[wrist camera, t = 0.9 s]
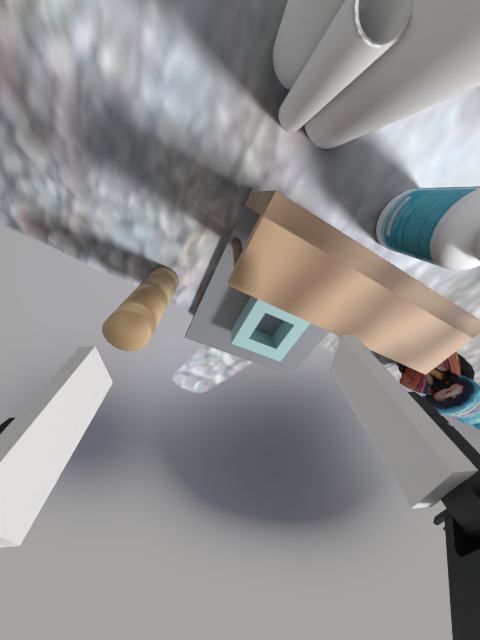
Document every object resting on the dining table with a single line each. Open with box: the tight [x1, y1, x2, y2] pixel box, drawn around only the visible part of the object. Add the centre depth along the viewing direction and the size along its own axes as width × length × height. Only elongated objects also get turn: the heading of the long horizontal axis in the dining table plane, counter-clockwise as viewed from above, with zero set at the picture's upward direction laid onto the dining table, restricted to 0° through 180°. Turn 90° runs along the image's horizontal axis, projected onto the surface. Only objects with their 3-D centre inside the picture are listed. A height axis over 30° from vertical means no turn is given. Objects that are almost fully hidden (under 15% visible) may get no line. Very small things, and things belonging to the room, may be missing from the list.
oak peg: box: [102, 267, 179, 351], centre depth 25 cm, size 4×4×14 cm
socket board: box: [185, 188, 329, 375], centre depth 32 cm, size 22×24×4 cm
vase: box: [273, 0, 480, 149], centre depth 13 cm, size 11×7×20 cm, turn 63°
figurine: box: [399, 352, 480, 429], centre depth 35 cm, size 10×7×15 cm
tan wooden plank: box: [228, 191, 480, 375], centre depth 23 cm, size 22×6×16 cm, turn 63°
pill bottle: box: [376, 186, 480, 270], centre depth 23 cm, size 8×7×14 cm
